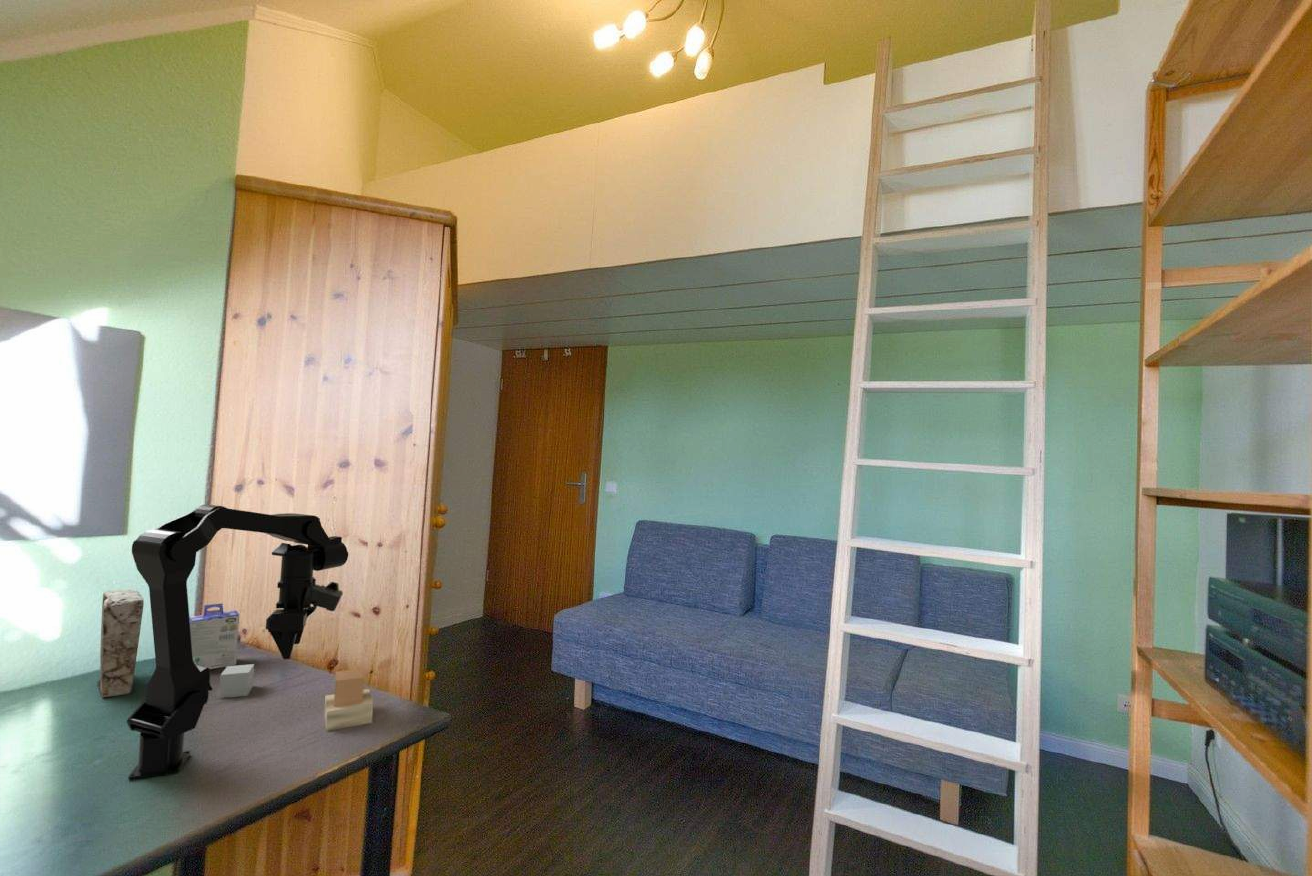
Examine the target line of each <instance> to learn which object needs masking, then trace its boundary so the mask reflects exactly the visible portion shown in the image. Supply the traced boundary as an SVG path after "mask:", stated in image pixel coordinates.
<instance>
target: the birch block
mask: <svg viewBox="0 0 1312 876" xmlns="http://www.w3.org/2000/svg"><path fill="white" fill-rule="evenodd" d="M334 694H335V693H333V694H327V695H325V697H324V698H325V700H324V713H323V714H324V724H325V725H324V726H325V731H326V732H327V731H333V730H338V729H345V728H348V727H349V728H350V727H353V726H354V727H355V726H361V725H366V724H373V714H374V713H373V710H374V701H373V699H372V695H371V694H372V693H371V691H370V689H369V688H367V689H366V688H365V689H363V700H362V703H357V704H349V705H342V706H335V707H334Z"/></svg>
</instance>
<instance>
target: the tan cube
mask: <svg viewBox="0 0 1312 876" xmlns="http://www.w3.org/2000/svg"><path fill="white" fill-rule="evenodd" d="M364 669H365V668H358V669H357V668H356V669H348V670H339V671H335V672H336V673H335V678H334V679H335V680H334V693H333V694H334V707H335V706H342V705H349V704H357V703H362V700H363V690H364V681H365V680H364V679H365V670H364Z"/></svg>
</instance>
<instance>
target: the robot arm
mask: <svg viewBox="0 0 1312 876" xmlns="http://www.w3.org/2000/svg"><path fill="white" fill-rule="evenodd" d="M320 520H321V519H320V518H319V517H318V516H317V515H313V514H312V515H311V514H303V513H292V512H290V513H275V514H268V513H261V512H254V511H247V510H242V509H241V510H240V509H234V508H228V507H225V506H223V505H215V504H202V505H199V506H197V507H195V508H194V509H192V510H190V511H189V512H187V513H185V514H183V515H180V516H179V517H175V518H174V519H171V520H168V521H166V522H164V523H162V524H161V525H159V526H158V527H156V528H153V529H149V530H146V531H144V532H143V533H141V534H139V536H137V538H136V539H135V540H133V543H132V544H131V553H132V558H133V560H134V563H135V567H136V571H138V573H139V574H140V575H141V578H142V579H144V581H145V583H146V584H147V586H148V590H149V591H148V592H149V602H150V614H151V615H150V616H151V624H152V637H153V647H154V658H155V659H154V660H155V669H154V672H153V673H152V676H151V677H150V679H149V681H148V683H147V685H146V687H147V688H146V696H145V698H144V700H143V701H142V702H141V704H139V706H138V707H137V708H136V709H135V710H134V711H133V713H132V714H131V715H130V716H129V717H128V718H127V719H126V723H127V725H128V728H129V731H133V732H134V731H135V732H137V733H140V734H139V747H138V751H139V752H138V761H137V765H136V766H135V767H134V768H133V769H132V771H131V773H129V774H128V777H127V779H128V780H136V779H142V778H150V777H157V776H163V775H171V774H176V773H179V771H180V770H181V769H182V767H183V766H184V764H185V763H186V762H187V760H188V758H189V757H190V755H191V751H190V750H185V751H184V743H185V733H186V732H189V731H192V730H194V729H195V728H196V727H197V724H198V722H199V718H200V717H201V713H202V711H203V708H204V707H205V705H206V704H207V703H208V700H209V691H213V687H212V686H211V681H210V680H211V679H210V678H211V671H210V670H211V669H210V670H209V668H207V667H203V666H198V665H195V663H194V661H193V654H192V642H191V630H190V618H189V617H190V607H189V606H190V605H189V597H188V596H189V595H188V579H189V577H190V575H191V573H192V571H193V569H195V566H196V558H197V553H198V552H199V551H200V550H202V549H203V548H205V547H206V546H208V545H209V544H210V543H211V541H212V540H213V539H214V537H215V535H216V534H217V533H218V532H219V531H221V530H222V529H229V530H235V531H236V530H238V531H245V532H252V533H254V532H255V533H261V534H262V533H264V534H266V535H269V536H271V537H273V538H275V539H279V540H282V541H285V542H293V543H294V545H291V543H285V542H281V543H280V544H279V546H278V547H276V548H275V549H273V551H271V555H272V556H276V557H281V565H280V566H281V567H280V579H279V581H278V582H277V589H279V592H278V593H279V594H278V595H279V596H278V601H277V602H276V604H275V610H273V612H272V613H270V615H269V616H268V617H267V618H266V622H265V630H267V632H268V633H270V636H271V637H272V639H273V641H274V643H275V645H276V646H277V649H278V651H279V653H280V655H281V657H282V659H283V660H290V658H291V657H292V653H293V649H294V645H299V644H300V643H301V640H302V636H303V632H304V630H305V626H306V624H307V623H306V622H307V620H308V617H310V616H311V615H312V614H313V613H314V612H315V611H316V609H317V607H319V608H322V609H326V611H329V612H335V611H336V609H337V606H338V605H339V603H340V600H341V598H342V596H343V595H344V594H343V590H340V588H339V582H338V583H337V582H334V581H331V582H329V583H328V584H327V585H326V586H325V585H323V584H322V585H318V584H317V583H316V581H317V579H316V578H315V576H314V571H315V572H318V571H319V572H321V571H324V570H330V569H334V568H338V567H339V568H340V567H342V566H344V565H345V564H346V563H347V561H348V559H349V551H348V549H347V547H346V545H345V543H344V542H343V541H342V538H343V537H342V536H338V535H334V536H329V535H328V533H327V532H326V531H325V530H324V527H323V525H322V523H321V521H320ZM306 545H307V546H306Z"/></svg>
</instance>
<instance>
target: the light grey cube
mask: <svg viewBox="0 0 1312 876" xmlns="http://www.w3.org/2000/svg"><path fill="white" fill-rule="evenodd" d="M254 673H255V664H254V663H252V664H239V665H233V666H227V667H224V670H223V671H222V672H221V674H220V676H219V677H220V678H219V679H220V681H219V691H218V692H219V693H218V699H227V698H226V697H228V698H235V697H246V696H249V693H250V692H251V690H252V689H253V686H254ZM251 688H252V689H251ZM224 697H225V698H224Z"/></svg>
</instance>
